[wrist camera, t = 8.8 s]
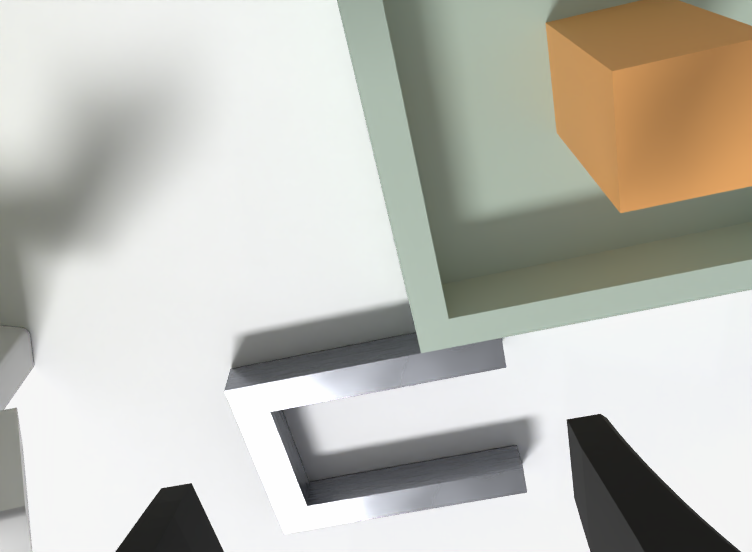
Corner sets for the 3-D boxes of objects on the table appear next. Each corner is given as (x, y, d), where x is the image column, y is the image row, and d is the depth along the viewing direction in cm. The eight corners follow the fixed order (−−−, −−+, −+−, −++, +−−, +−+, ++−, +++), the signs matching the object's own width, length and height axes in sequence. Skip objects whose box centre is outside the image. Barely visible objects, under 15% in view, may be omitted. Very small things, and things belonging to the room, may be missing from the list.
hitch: (495, 317, 23) (501, 337, 22) (520, 468, 26) (527, 492, 25) (230, 369, 24) (224, 391, 23) (287, 508, 27) (284, 533, 26)
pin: (663, -5, 18) (775, 33, 13) (665, 109, 19) (767, 183, 14) (545, 22, 18) (612, 71, 13) (556, 133, 19) (620, 213, 14)
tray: (879, -297, 15) (969, -329, 13) (825, 225, 21) (880, 264, 19) (310, -145, 16) (301, -151, 14) (415, 307, 23) (420, 353, 20)
